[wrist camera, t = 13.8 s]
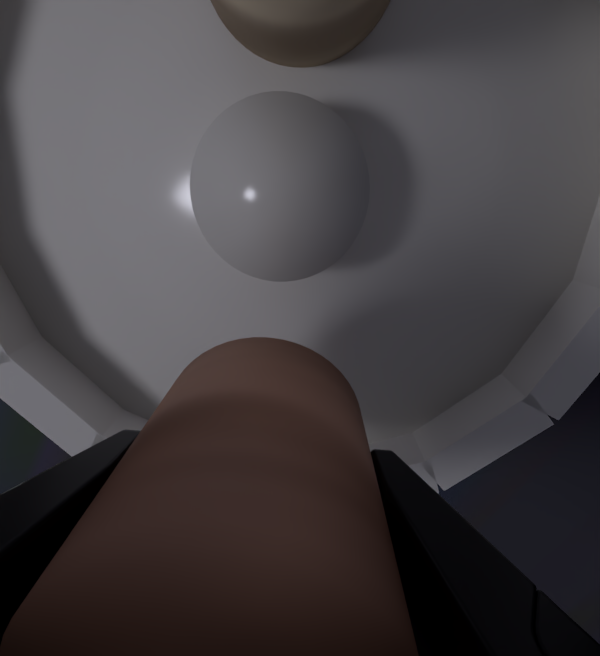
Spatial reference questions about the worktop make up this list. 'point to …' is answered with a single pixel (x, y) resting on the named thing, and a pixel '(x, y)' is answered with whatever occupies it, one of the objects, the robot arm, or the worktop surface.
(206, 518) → the bead terracotta
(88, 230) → the tray
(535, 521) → the worktop surface
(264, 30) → the bead maple
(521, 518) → the worktop surface
